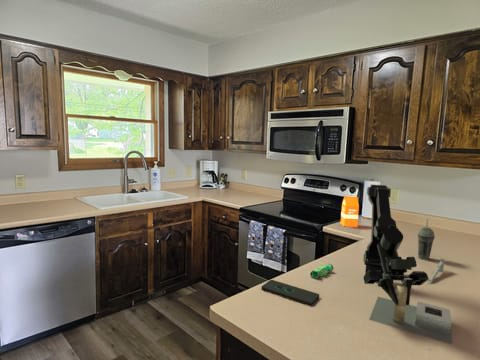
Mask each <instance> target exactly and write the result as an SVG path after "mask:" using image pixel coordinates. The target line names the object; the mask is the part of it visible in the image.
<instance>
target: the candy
mask: <svg viewBox="0 0 480 360" xmlns="http://www.w3.org/2000/svg"><path fill="white" fill-rule="evenodd" d="M333 270H334V266H333V264H332V263H327V264H325V265H320V266H317V268H316V270H311V272H310V274H309V275H310V277H311V278H314V279H316V280H317V279H318V278H319V277H324V276H326V275H328V273H329V272H333Z"/></svg>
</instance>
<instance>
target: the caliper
mask: <svg viewBox="0 0 480 360" xmlns="http://www.w3.org/2000/svg"><path fill="white" fill-rule="evenodd" d="M444 265H445V258H444V257H440V260H439V262H438V264H437V266H436V268H435V270H434V271H433V273H432V274H431V275H430V277H429V280H428V281H427V284H429V285H430V284H432V283H434V282H433V281H434V280H435V278H436V277H437V275H438V274H439V273H440V272H443V271H444Z"/></svg>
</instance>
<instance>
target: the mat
mask: <svg viewBox="0 0 480 360" xmlns="http://www.w3.org/2000/svg"><path fill="white" fill-rule="evenodd" d="M394 308H395V303H394V302H393V300H392V299H390V298H385V297H381V296H377V297H376V301H375V304H374V306H373V309H372V311H371V314H370V316H369V321H372V322H376V323H379V324H382V325H385V326H389V327H392V328H396V329H399V330H402V331H405V332H409V333H412V334H416V335H420V336H421V337H424V338H430V339H432V340H436V341H439V342H442V343H445V344H449V345H453V335H452V328H451V329H450V336H449V335H446V334H442V333H439V332H435V331H432V330H428V329H425V328H421V327H418V326H415V320H416V311H417V305H416V306H415V305H412V304H409V305H406V308H405V317H404V324H397V323H395V322H394V321H393V318H394Z"/></svg>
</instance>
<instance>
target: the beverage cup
mask: <svg viewBox="0 0 480 360" xmlns="http://www.w3.org/2000/svg"><path fill="white" fill-rule="evenodd" d="M428 222H429V219H428V218H427V219H426V223H425V224H426V225H425V227H421V228H420V229H419V230H418V233H417V239H418V241H417V243H418V244H417V245H418V247H417V249H418V250H417V251H418V252H417V255H418V256H417V257H418V259H420V260H423V261H429V260H430V257H431V252H432V249H433V248H432V247H433V244H434V240H435V238H436V237H435V232H434V231H433V230H432V229H431V228H429V227H428V224H429V223H428Z"/></svg>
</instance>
